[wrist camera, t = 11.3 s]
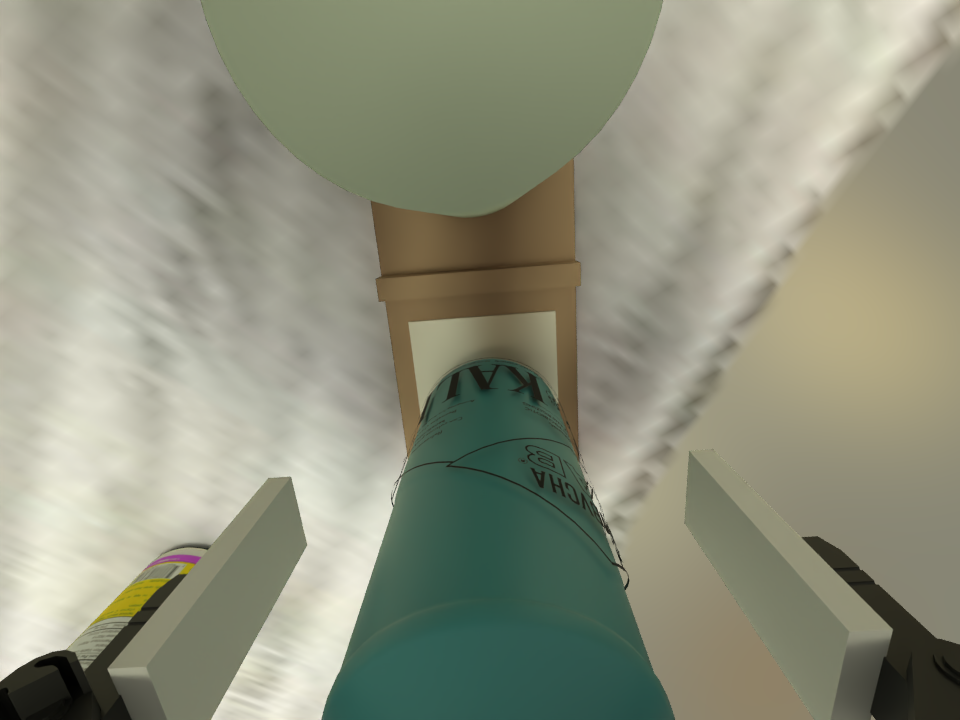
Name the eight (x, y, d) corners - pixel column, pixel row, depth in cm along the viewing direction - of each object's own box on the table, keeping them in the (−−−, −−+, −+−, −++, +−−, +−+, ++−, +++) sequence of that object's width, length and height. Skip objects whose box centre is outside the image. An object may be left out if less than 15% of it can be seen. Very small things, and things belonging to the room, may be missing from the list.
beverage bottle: (514, 481, 24) (628, 1555, 5) (402, 424, 23) (-18, 1477, 4) (582, 382, 22) (1211, 1459, 3) (464, 316, 21) (259, 1267, 2)
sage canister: (396, 224, 20) (251, 228, 8) (372, 43, 18) (121, -350, 6) (551, 210, 20) (662, 192, 7) (545, 26, 18) (685, -428, 5)
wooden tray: (420, 503, 26) (413, 534, 24) (345, -31, 18) (323, -72, 16) (574, 494, 26) (584, 524, 23) (562, -54, 18) (575, -100, 16)
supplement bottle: (230, 641, 30) (49, 938, 17) (135, 596, 29) (-129, 878, 16) (274, 573, 28) (107, 850, 16) (174, 523, 27) (-87, 778, 15)
